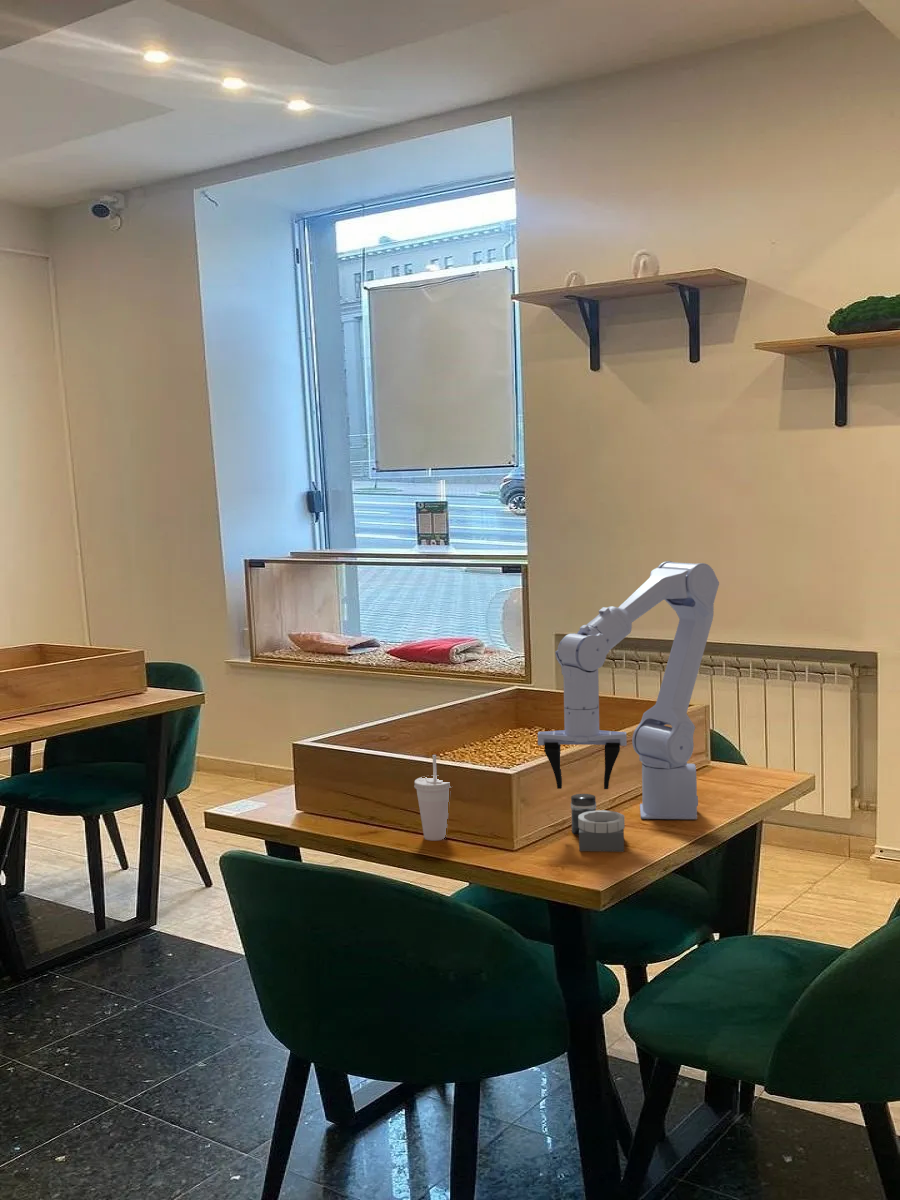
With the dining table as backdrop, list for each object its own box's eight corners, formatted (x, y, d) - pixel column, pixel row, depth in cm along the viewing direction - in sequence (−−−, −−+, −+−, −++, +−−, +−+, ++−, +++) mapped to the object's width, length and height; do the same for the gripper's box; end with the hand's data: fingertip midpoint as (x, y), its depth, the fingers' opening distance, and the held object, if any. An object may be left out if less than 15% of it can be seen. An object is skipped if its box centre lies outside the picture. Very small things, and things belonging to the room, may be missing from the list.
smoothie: (429, 845, 183) (426, 761, 182) (408, 836, 189) (405, 754, 187) (462, 838, 187) (459, 755, 186) (440, 828, 192) (438, 748, 191)
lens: (597, 828, 190) (596, 793, 189) (596, 836, 186) (595, 800, 185) (571, 828, 190) (571, 793, 190) (570, 835, 186) (570, 800, 186)
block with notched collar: (624, 837, 184) (624, 810, 184) (625, 851, 177) (624, 824, 177) (579, 836, 185) (579, 810, 185) (578, 851, 178) (577, 823, 178)
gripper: (535, 711, 183) (537, 793, 184) (626, 711, 181) (627, 794, 182) (538, 703, 190) (540, 782, 191) (625, 703, 188) (626, 783, 189)
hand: (582, 787), depth 187 cm, fingers open, 7 cm apart
